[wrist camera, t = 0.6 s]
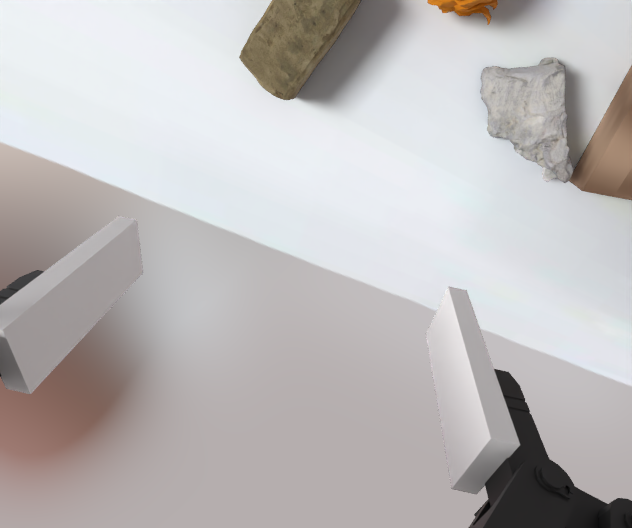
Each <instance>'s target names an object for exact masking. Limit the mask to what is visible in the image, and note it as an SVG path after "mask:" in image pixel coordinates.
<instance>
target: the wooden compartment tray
mask: <svg viewBox="0 0 632 528" xmlns="http://www.w3.org/2000/svg"><path fill="white" fill-rule="evenodd" d="M569 181H570V182H571V183H573V184H574V185H575V186H577V187H578V188H579V189H580V190H582V191H585V192H591V193H596V194H601V195H607V196H612V197H618V198H623V199H628V200H632V66H631V68H630V69H629V71H628V73H627V75H626V77H625V78H624V80H623V82H622V84H621V86H620V88H619V89H618V91H617V93H616V95H615V97H614V99H613V100H612V102H611V104H610V106H609V108H608V109H607V111H606V113H605V115H604V117H603V119H602V120H601V122H600V124H599V126H598V128H597V130H596V131H595V133H594V135H593V137H592V139H591V140H590V142H589V144H588V146H587V148H586V150H585V151H584V153H583V155H582V157H581V159H580V160H579V162H578V164H577V166H576V168H575V170H574V171H573V173H572V175H571V178H570V180H569Z"/></svg>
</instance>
